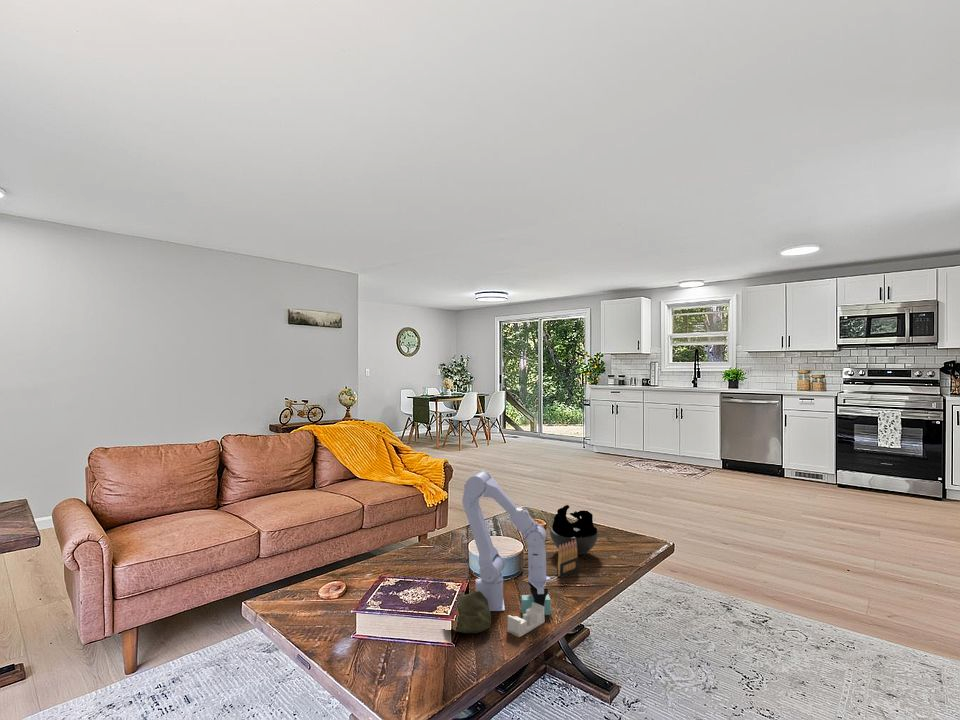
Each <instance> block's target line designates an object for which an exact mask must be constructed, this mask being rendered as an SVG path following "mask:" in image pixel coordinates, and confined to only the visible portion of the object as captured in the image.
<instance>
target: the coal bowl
mask: <svg viewBox="0 0 960 720" xmlns="http://www.w3.org/2000/svg"><path fill="white" fill-rule="evenodd" d="M569 509H570V505H569V504H565V505H563V507H560V508H558V509H557V510H556V512H557V513H556V514H555V515H554V518H553V523H552V526H551V527H550V528H549V534H550V538H551V541H552V543H553V544H554V546H555V547H556V548H557V549H558V550H559V546H560V544H561V547H562V545H563V543H564V546H565V544H566V542H567V545H568V542H569V541H570V544H571V541H572V540H573V543H574V540H575V539H576V542H577V557H578V556H581V555H585V554H587V553H589V551H591V550H592V549H593V547H594V546H595V544H596V543H597V541H598V537H599V531H598V529H597V527H596V526H594V521H593V513H591V512H590V511H589V510H579V511H573V512H569V515H570V516H572V517H573V518H575V519H577V520H576V521H575V522H570V521H569V520H568V519H567V514H568V513H567V512H568V510H569Z"/></svg>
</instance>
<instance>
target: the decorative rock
mask: <svg viewBox="0 0 960 720" xmlns="http://www.w3.org/2000/svg"><path fill="white" fill-rule="evenodd" d="M458 596H459V602H458V606H457V608H458V611H459V616H458V622H457V627H456V631H455V632H457V633H458V632H459V633H462V634H478V633H482V632H484V631H486V630H488V629H489V628H490V627H491V623H492V616H491V615H492V614H491V611H490V609H489V607H488V600H487V598H485V596H484V595H483V594H482V593H481V592H480V591H478V592H476V591H473V592H471V593H468V594H460V595H458Z"/></svg>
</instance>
